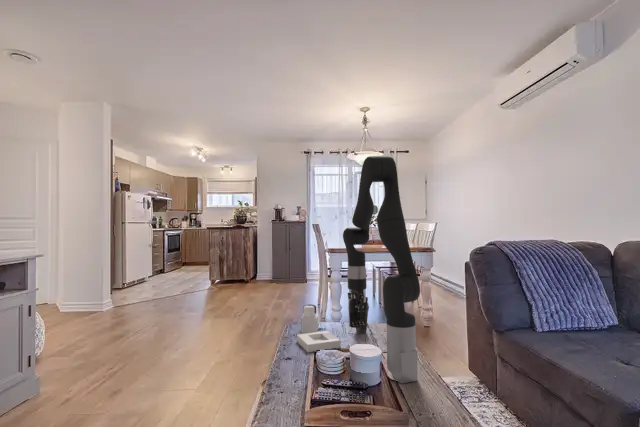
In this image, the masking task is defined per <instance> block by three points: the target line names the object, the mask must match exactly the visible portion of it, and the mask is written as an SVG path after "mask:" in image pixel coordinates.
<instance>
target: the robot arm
mask: <svg viewBox="0 0 640 427" xmlns="http://www.w3.org/2000/svg"><path fill="white" fill-rule="evenodd" d="M397 169H398V168H397V164H396V162H395V160H394V158H393V157H392V156H389V155H369V156H367V157H365V159H364V160H363V163H362V166H361V172H360V178H359V185H358V196H357V201H356V206H355V209H354V212H353V214H352V217H351V218H352V219H351V222H352V224H353V226H354V227H353V226H352V227H346V228H345V229H344V230H343V232H342V239H343V243H344V246H345V249H346V254H347V289H348V290H350V292H347V300H348V301H349V300H350V299H351V298H354V299H355V303H356V306H357V319H358V322H362V321H363V312H364V311H366V308H367V302H368V301H369V300H368V299H369V297H368V296H365V293H364V290H366V289H367V288H368V287H367V268H366V253H365V252H364V251H363V250H357V249H356V248H355V246H356V245H357V246H358V245H359V246H360V245H365V244H367V243H368V242H369V240H370V226H371V225H370V224H371V221H372V217H373V214H374V212H375V205H374V201H373V197H372V194H371V187H372V185H373V183H383V187H384V197H383V201H382V203H381V206H380V208H379V210H378V213H377V217H376V224H377V230H378V234H379V238H380V241H381V242H382V244H383V245H384V247H385V248H386V250H388V253H390V255H391V256H392V258H393V259H394V262H395V265H396V268H397V272H398V274H392V275H388V276H387V277H386V278H385V280H384V281H383V286H382V296H383V309H384V311H383V312H384V315H385V319H386V370H387V369H388V370H389V371H390V372H391V373H392V374H393V376H394V377H395V379H396V380H397V381H398V382H397V383H399V384H400V385H401V384H402V385H403V384H407V383H413V382H417V381H419V379H418V373H419V372H418V350H416V347H417V345H416V341H417V340H416V317H415V315H414V314H413V313H410V312H407V311H406V309H405V304H406V303H410V302H411V303H412V302H415V301H417V300H418V299H419V297H420V295H421V284H420V280H419V276H418V273H417V269H416V266H415V263H414V260H413V256H412V252H411V247H410V243H409V238H408V233H407V227H406V222H405V221H406V220H405V217H404V213H403V209H402V208H403V207H402V202H401V197H400V189H399V188H400V187H399V180H398V178H399V177H398V170H397ZM358 303H360V304H358ZM359 306H360V308H359Z"/></svg>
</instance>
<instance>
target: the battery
mask: <svg viewBox="0 0 640 427" xmlns="http://www.w3.org/2000/svg"><path fill="white" fill-rule="evenodd" d="M358 304H360V303H358ZM359 308H360V306H359ZM347 309H348V326H349V328H352V329H356V328H358V327H365V326H366V320H365V316H366V311H367V308H366V311H364V312H363V321H362V322H358V319H357V306H356V303H355V299H354V298H351V299H350V300H349V299H348V307H347Z"/></svg>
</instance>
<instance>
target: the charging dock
mask: <svg viewBox="0 0 640 427" xmlns="http://www.w3.org/2000/svg"><path fill="white" fill-rule="evenodd" d="M296 343H298V344H299V345H300V346H301V347H302V349H304V350H305V351H306V352H307V353H314V352H317V351H316V350H320V349H329V348H336V349H340V348H341V339H340V338H338V337H337V336H336V335H334V334H332V332H330V331H329V330H324V331H317V332H313V333H299V334H296ZM329 350H330V349H329ZM313 351H314V352H313Z"/></svg>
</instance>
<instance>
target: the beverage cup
mask: <svg viewBox="0 0 640 427" xmlns="http://www.w3.org/2000/svg"><path fill="white" fill-rule="evenodd" d="M369 308H370V306H369V303H368V301H367V311H366V316H365V320H366V326H365V327H358V328H355V332H356V334H359V335H366V334H367V331H368V330H367V328H368V315H369V310H370V309H369Z"/></svg>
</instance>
